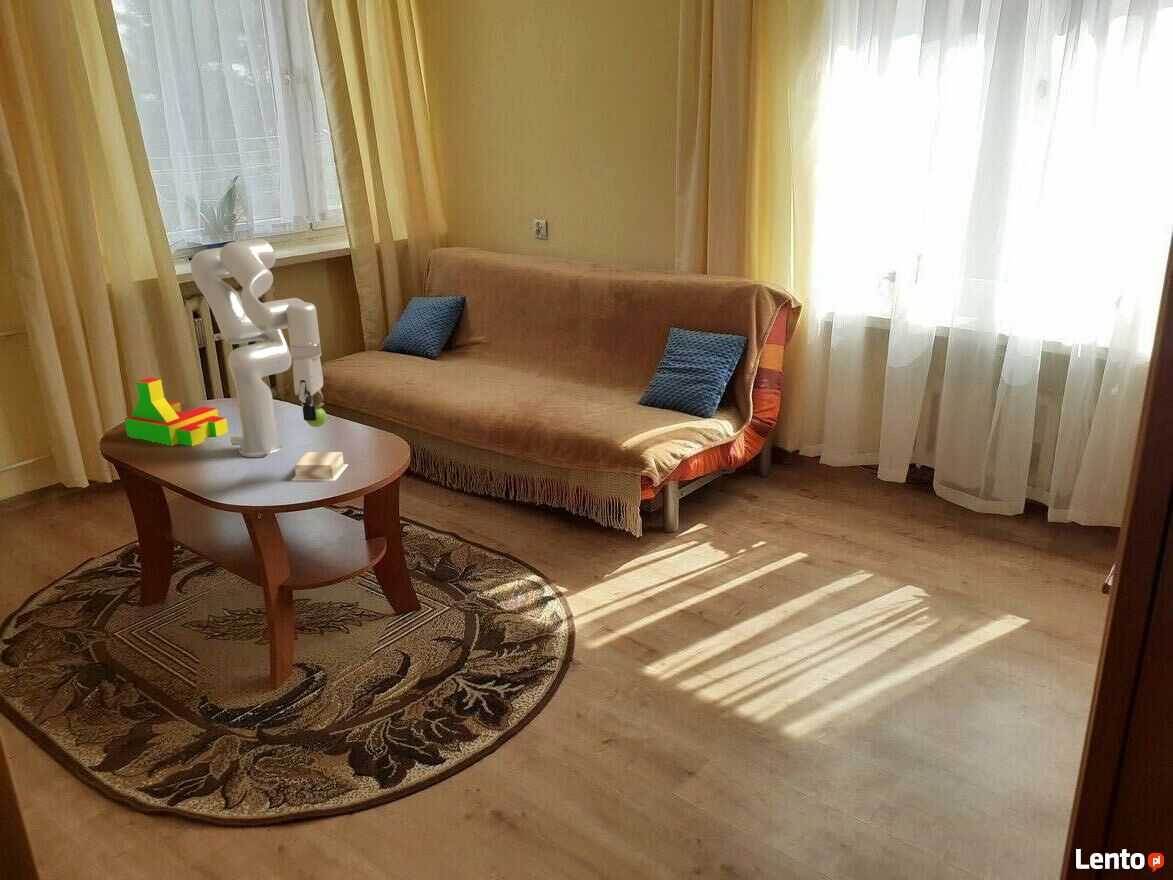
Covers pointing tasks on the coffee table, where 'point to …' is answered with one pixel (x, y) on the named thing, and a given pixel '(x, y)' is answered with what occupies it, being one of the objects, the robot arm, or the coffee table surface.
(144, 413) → the building blocks toy
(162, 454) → the coffee table surface
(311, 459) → the pedestal block
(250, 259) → the robot arm
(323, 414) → the snail figurine
